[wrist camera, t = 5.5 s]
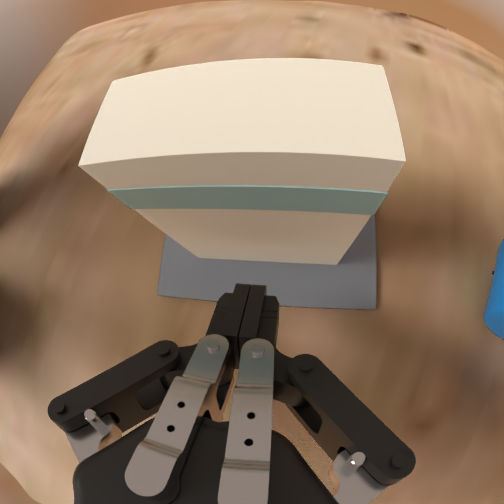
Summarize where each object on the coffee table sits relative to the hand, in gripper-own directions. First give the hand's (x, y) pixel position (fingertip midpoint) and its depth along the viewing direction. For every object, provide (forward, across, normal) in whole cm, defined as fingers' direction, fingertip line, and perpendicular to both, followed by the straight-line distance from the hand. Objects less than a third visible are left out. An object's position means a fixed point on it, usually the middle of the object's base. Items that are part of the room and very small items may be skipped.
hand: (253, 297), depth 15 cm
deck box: (+8, 0, 0) cm, 8 cm away
